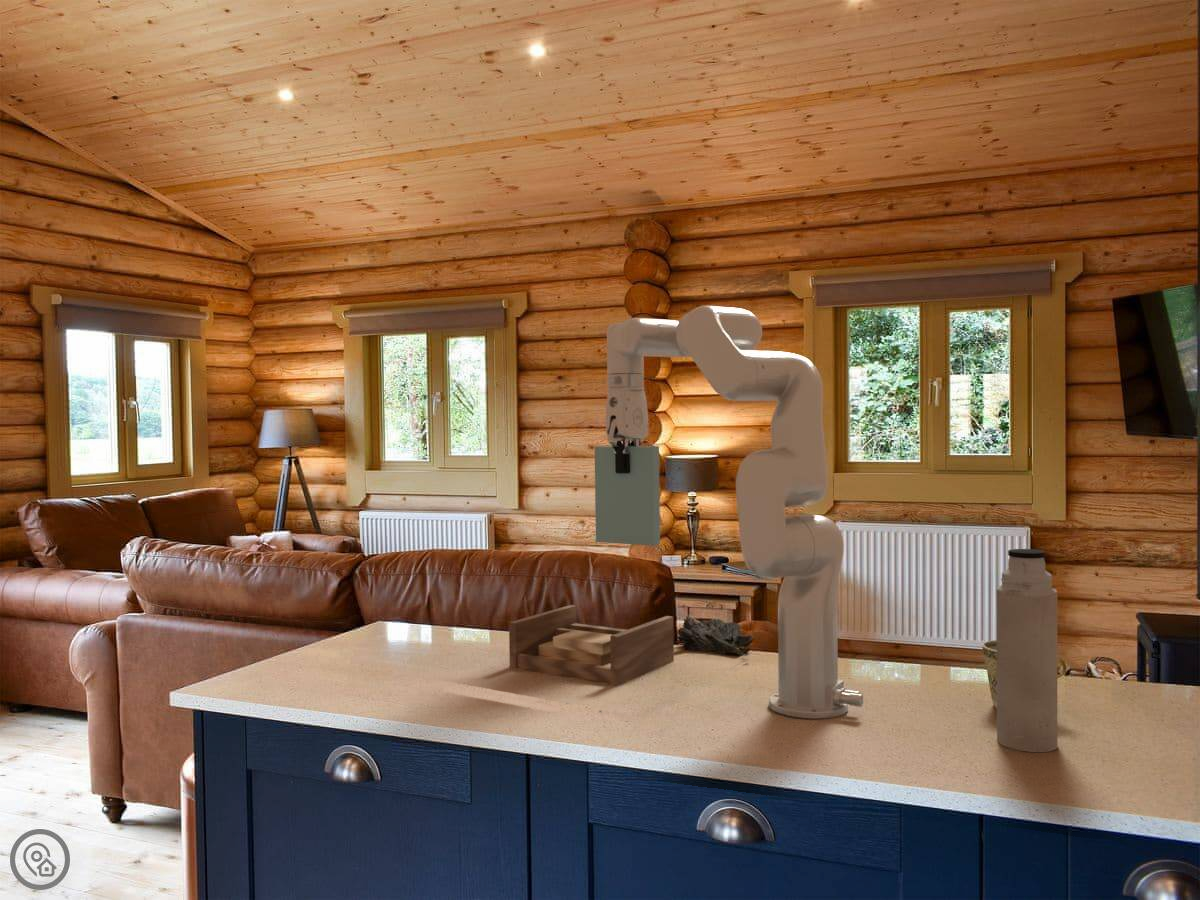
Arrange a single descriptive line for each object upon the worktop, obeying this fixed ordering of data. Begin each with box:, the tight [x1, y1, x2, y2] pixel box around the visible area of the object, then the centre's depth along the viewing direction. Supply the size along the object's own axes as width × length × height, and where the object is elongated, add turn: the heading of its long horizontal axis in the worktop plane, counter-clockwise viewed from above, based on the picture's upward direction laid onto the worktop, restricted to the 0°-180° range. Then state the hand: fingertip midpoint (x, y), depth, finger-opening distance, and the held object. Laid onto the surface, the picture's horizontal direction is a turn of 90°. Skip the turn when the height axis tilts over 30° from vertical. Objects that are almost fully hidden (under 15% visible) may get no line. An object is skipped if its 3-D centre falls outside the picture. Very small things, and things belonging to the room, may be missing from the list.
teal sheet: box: [594, 445, 661, 547], centre depth 195 cm, size 14×2×20 cm, turn 57°
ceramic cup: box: [981, 639, 1067, 709], centre depth 152 cm, size 13×10×10 cm
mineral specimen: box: [675, 613, 755, 657], centre depth 191 cm, size 15×13×10 cm
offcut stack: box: [539, 630, 611, 667], centre depth 176 cm, size 16×9×6 cm, turn 57°
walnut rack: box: [508, 604, 675, 687], centre depth 179 cm, size 24×20×10 cm
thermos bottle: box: [996, 548, 1059, 753], centre depth 136 cm, size 8×8×28 cm
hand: (626, 472), depth 195 cm, fingers closed on teal sheet, 2 cm apart
